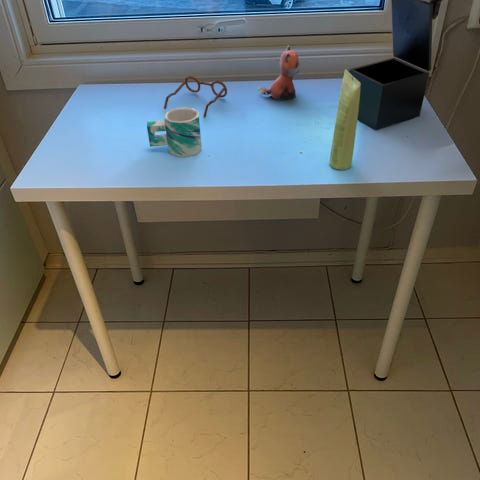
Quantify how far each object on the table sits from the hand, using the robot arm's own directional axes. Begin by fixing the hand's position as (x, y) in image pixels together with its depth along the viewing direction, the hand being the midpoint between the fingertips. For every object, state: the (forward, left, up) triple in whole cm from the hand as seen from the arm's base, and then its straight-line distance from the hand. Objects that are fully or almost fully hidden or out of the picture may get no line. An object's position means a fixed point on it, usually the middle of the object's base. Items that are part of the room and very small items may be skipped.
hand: (422, 15), depth 122 cm
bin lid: (-1, +3, -3) cm, 4 cm away
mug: (-1, +62, -22) cm, 66 cm away
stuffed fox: (+19, +28, -22) cm, 41 cm away
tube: (-22, +29, -22) cm, 42 cm away
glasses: (+22, +51, -22) cm, 60 cm away
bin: (-2, +8, -22) cm, 23 cm away
